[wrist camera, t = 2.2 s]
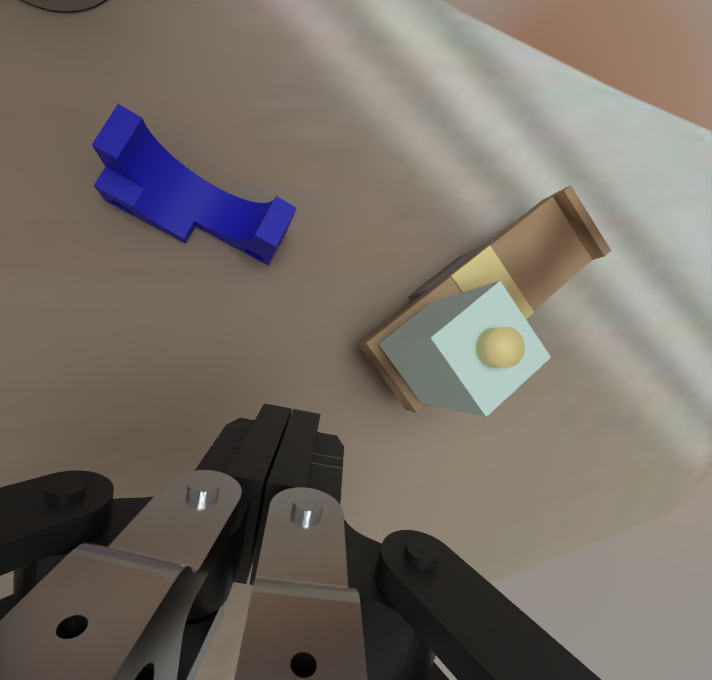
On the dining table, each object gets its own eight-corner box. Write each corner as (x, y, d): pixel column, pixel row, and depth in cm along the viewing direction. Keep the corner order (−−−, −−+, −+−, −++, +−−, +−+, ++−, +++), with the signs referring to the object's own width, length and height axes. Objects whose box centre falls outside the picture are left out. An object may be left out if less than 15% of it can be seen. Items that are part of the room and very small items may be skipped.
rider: (378, 344, 29) (441, 336, 21) (432, 301, 31) (514, 276, 22) (420, 403, 30) (499, 419, 21) (472, 358, 31) (567, 356, 22)
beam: (344, 345, 35) (371, 341, 29) (512, 215, 40) (570, 184, 33) (387, 405, 36) (424, 415, 29) (547, 269, 41) (611, 251, 34)
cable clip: (106, 201, 31) (78, 165, 26) (138, 150, 32) (118, 103, 26) (259, 282, 34) (265, 266, 28) (285, 233, 35) (296, 207, 29)
